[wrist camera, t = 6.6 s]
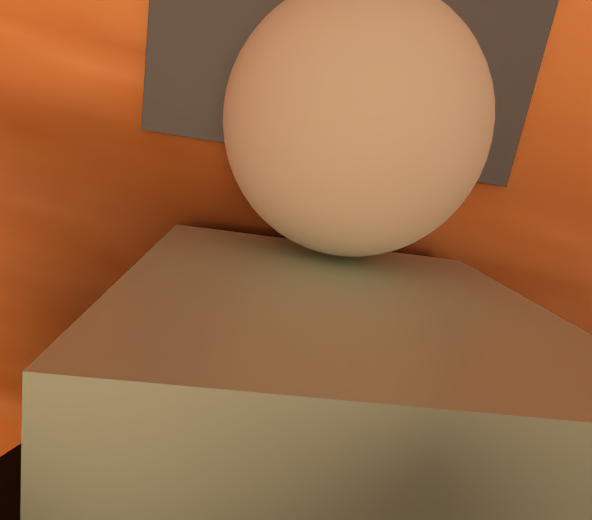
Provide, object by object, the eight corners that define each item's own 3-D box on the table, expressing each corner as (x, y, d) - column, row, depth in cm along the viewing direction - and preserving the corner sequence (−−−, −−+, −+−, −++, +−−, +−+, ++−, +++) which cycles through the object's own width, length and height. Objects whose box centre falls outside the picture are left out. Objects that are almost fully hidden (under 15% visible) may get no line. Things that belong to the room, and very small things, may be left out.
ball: (413, 246, 11) (451, 43, 10) (518, 301, 6) (599, -51, 6) (220, 223, 10) (242, 7, 9) (192, 266, 6) (229, -125, 5)
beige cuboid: (396, 536, 11) (552, 971, 5) (150, 522, 11) (13, 998, 5) (460, 260, 10) (779, 439, 4) (176, 224, 9) (22, 371, 3)
